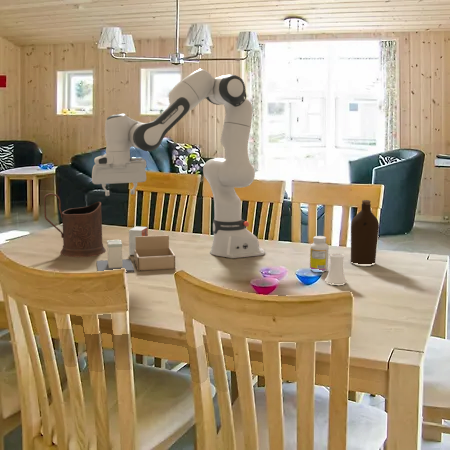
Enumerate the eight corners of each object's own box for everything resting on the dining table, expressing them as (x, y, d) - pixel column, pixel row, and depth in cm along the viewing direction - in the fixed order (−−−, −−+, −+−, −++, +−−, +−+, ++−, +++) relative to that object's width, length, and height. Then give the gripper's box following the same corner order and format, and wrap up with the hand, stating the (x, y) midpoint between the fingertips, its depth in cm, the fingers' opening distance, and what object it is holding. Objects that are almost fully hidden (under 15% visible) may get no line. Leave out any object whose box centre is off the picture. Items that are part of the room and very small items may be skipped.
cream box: (121, 262, 233) (120, 239, 231) (122, 267, 226) (122, 243, 225) (107, 263, 232) (107, 240, 230) (108, 268, 225) (108, 244, 223)
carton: (170, 259, 241) (170, 235, 239) (175, 268, 228) (175, 242, 226) (134, 261, 237) (134, 236, 235) (138, 270, 225) (137, 244, 223)
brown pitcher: (109, 255, 248) (108, 194, 243) (48, 260, 239) (45, 197, 234) (101, 245, 265) (99, 188, 260) (44, 249, 256) (41, 190, 251)
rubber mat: (130, 261, 239) (130, 259, 238) (134, 272, 223) (134, 269, 223) (96, 262, 236) (96, 260, 235) (98, 273, 220) (98, 271, 220)
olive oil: (381, 266, 235) (385, 202, 230) (357, 268, 232) (360, 203, 227) (367, 259, 245) (371, 198, 240) (344, 261, 242) (347, 199, 237)
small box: (142, 256, 247) (141, 230, 245) (129, 255, 248) (128, 229, 246) (148, 251, 254) (148, 226, 252) (135, 250, 255) (135, 226, 253)
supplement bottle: (315, 267, 232) (316, 234, 230) (330, 270, 228) (332, 237, 226) (306, 270, 227) (307, 237, 225) (321, 274, 223) (323, 240, 221)
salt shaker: (347, 280, 215) (348, 253, 213) (345, 286, 208) (347, 258, 206) (325, 279, 217) (327, 251, 215) (323, 285, 210) (324, 257, 208)
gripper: (145, 156, 232) (146, 192, 235) (90, 158, 227) (92, 194, 230) (147, 158, 226) (148, 194, 229) (91, 160, 221) (93, 197, 225)
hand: (120, 194), depth 230 cm, fingers open, 8 cm apart
